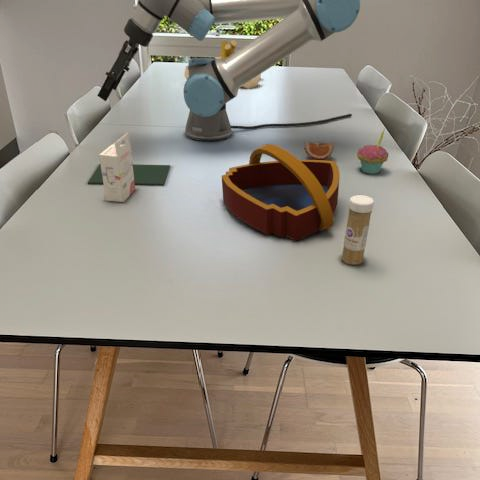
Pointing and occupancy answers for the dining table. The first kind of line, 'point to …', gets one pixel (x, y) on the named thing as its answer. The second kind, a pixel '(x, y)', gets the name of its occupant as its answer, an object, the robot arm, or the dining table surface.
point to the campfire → (226, 52)
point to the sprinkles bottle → (357, 229)
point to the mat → (139, 175)
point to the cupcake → (372, 157)
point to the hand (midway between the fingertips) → (106, 92)
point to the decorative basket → (283, 193)
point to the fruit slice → (319, 150)
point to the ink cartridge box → (117, 170)
